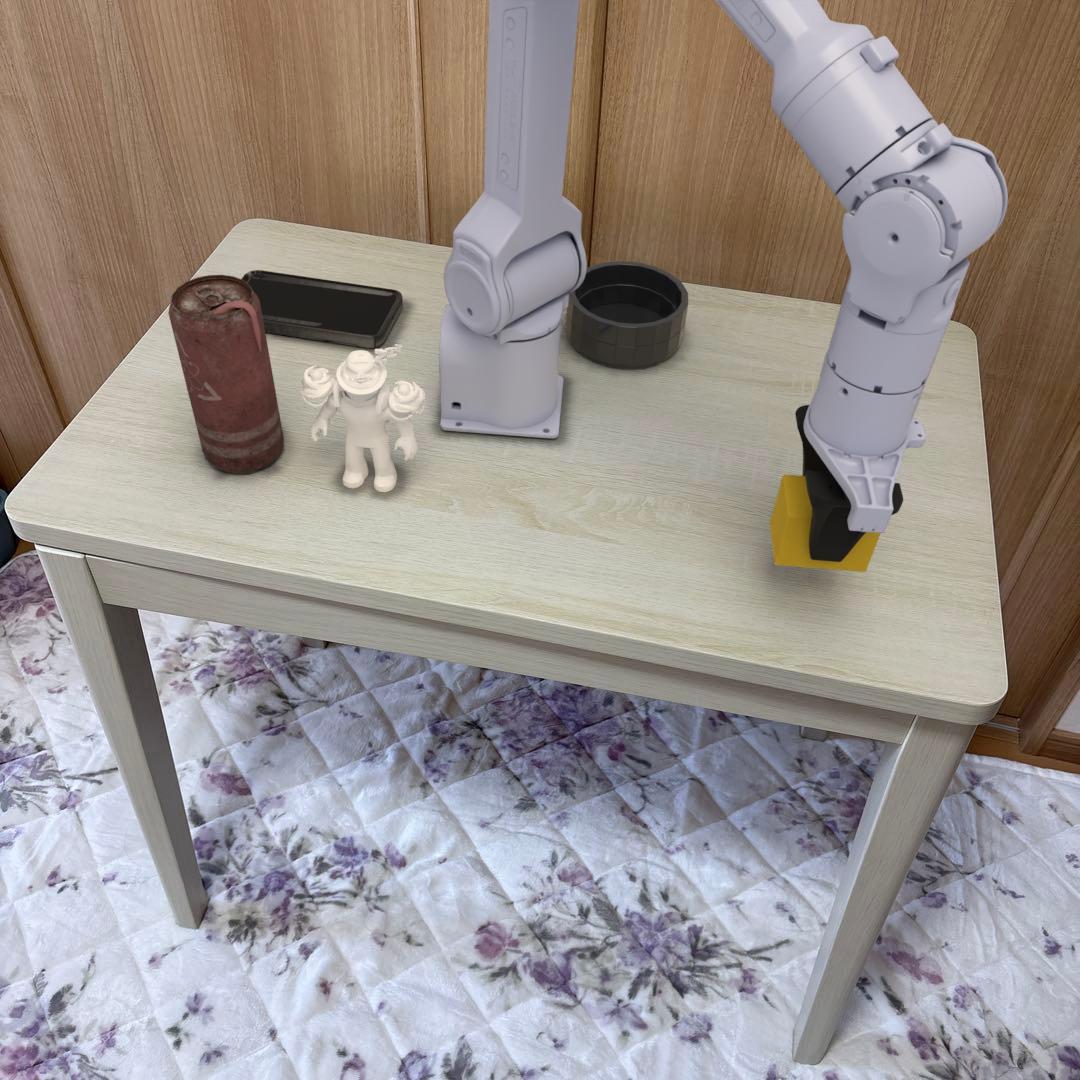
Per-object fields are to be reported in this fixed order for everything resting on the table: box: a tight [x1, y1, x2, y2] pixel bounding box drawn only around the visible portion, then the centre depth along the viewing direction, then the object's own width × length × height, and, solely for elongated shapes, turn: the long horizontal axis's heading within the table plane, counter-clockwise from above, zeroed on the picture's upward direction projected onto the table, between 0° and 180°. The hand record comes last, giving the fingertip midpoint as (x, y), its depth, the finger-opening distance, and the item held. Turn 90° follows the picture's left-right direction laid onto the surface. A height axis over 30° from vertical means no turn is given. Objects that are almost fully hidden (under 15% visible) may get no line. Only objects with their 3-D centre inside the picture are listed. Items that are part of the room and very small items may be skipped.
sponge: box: [769, 473, 882, 573], centre depth 69 cm, size 6×4×4 cm, turn 86°
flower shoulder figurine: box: [300, 343, 426, 493], centre depth 76 cm, size 9×4×12 cm, turn 79°
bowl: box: [565, 260, 689, 370], centre depth 93 cm, size 10×10×4 cm
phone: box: [241, 269, 404, 349], centre depth 95 cm, size 8×1×15 cm
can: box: [167, 274, 285, 475], centre depth 77 cm, size 6×6×14 cm
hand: (821, 532), depth 70 cm, fingers closed on sponge, 4 cm apart
